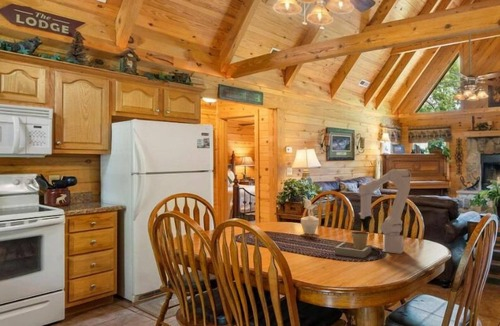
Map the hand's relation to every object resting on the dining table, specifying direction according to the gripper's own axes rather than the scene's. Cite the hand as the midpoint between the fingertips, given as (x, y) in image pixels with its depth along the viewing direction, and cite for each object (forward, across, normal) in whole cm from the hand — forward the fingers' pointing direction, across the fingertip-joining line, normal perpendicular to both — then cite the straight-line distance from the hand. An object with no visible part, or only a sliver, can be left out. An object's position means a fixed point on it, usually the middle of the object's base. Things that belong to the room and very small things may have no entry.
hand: (365, 229), depth 216 cm
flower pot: (+9, +12, 0) cm, 15 cm away
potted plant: (+9, -11, -39) cm, 41 cm away
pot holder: (+8, +23, 0) cm, 24 cm away
